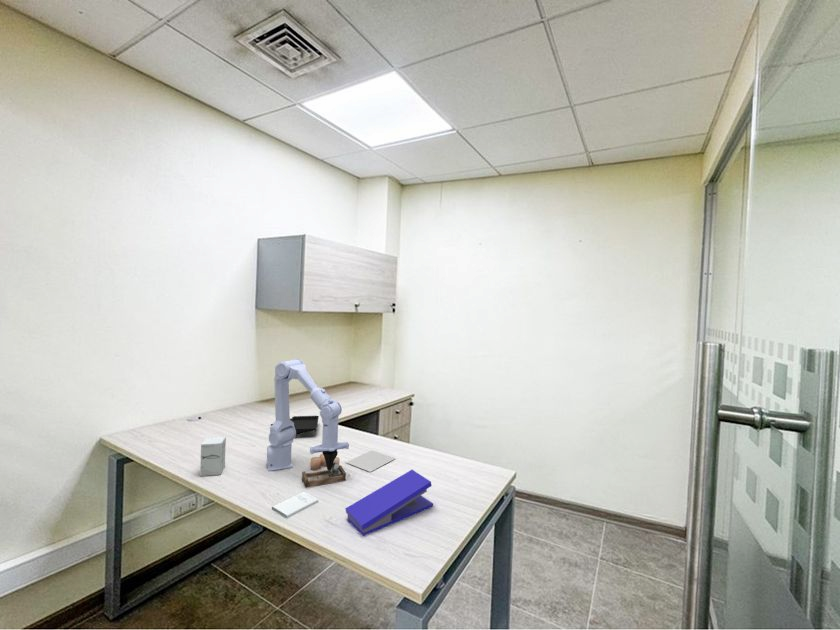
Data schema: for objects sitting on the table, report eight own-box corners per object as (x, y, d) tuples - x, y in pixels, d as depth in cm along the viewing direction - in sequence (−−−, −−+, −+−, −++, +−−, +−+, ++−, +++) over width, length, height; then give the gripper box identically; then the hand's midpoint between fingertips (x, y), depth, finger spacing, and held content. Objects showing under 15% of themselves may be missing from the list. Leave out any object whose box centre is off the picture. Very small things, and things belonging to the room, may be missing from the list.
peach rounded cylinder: (320, 467, 153) (320, 458, 153) (318, 463, 156) (318, 454, 156) (330, 466, 155) (330, 456, 155) (327, 462, 158) (328, 452, 158)
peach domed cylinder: (330, 471, 150) (330, 461, 150) (328, 467, 153) (328, 458, 153) (340, 469, 152) (340, 460, 151) (337, 465, 155) (338, 456, 155)
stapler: (434, 508, 127) (435, 479, 126) (362, 539, 109) (363, 506, 109) (413, 493, 136) (414, 467, 135) (344, 520, 118) (345, 489, 118)
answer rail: (305, 488, 136) (305, 479, 136) (302, 479, 142) (302, 471, 142) (345, 480, 143) (345, 472, 143) (340, 472, 149) (341, 465, 149)
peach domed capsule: (311, 471, 149) (311, 461, 149) (309, 467, 153) (309, 457, 153) (321, 469, 151) (321, 460, 151) (319, 465, 155) (319, 456, 155)
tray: (261, 430, 193) (261, 420, 193) (298, 419, 213) (298, 410, 212) (300, 444, 177) (300, 433, 177) (335, 430, 197) (336, 421, 196)
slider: (332, 477, 142) (333, 466, 141) (329, 472, 146) (329, 460, 146) (341, 476, 143) (341, 464, 143) (337, 470, 148) (338, 459, 147)
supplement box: (199, 477, 141) (200, 444, 141) (205, 468, 148) (205, 437, 148) (221, 475, 143) (221, 442, 143) (225, 466, 150) (226, 436, 150)
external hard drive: (271, 511, 122) (303, 495, 132) (286, 520, 117) (318, 503, 127) (271, 506, 122) (303, 490, 132) (286, 515, 117) (318, 498, 127)
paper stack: (413, 465, 159) (413, 464, 159) (374, 489, 138) (374, 487, 138) (371, 451, 172) (371, 450, 172) (330, 470, 151) (330, 469, 151)
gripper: (312, 440, 136) (311, 477, 136) (351, 435, 143) (350, 470, 143) (309, 434, 142) (308, 468, 143) (346, 429, 149) (345, 462, 149)
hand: (329, 469), depth 143 cm, fingers closed
